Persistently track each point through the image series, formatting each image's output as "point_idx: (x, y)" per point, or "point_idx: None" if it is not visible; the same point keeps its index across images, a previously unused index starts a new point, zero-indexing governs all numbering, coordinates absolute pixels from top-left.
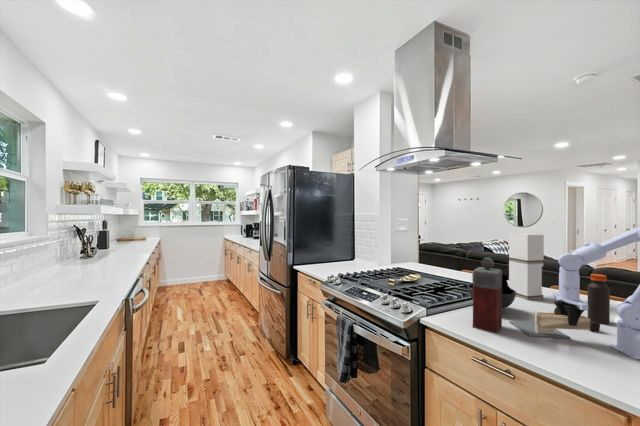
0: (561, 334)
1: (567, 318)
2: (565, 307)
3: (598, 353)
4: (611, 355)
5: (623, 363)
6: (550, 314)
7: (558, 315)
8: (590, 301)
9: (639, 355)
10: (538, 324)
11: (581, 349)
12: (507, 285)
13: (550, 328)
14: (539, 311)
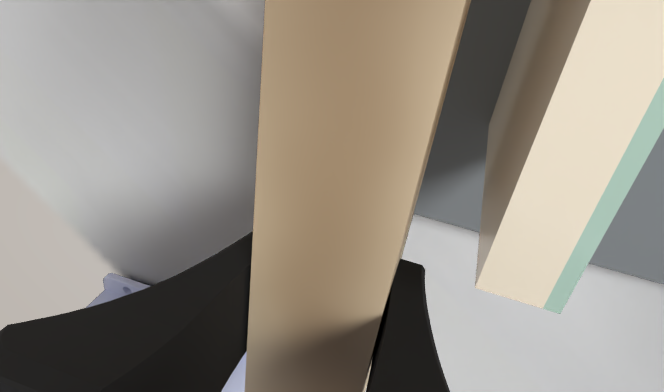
0: (464, 187)
1: (255, 263)
2: (91, 368)
3: (151, 151)
4: (138, 204)
5: (45, 162)
6: (501, 208)
7: (366, 247)
8: None
9: (92, 302)
10: None
11: (197, 87)
12: None
13: (503, 107)
14: (658, 39)
